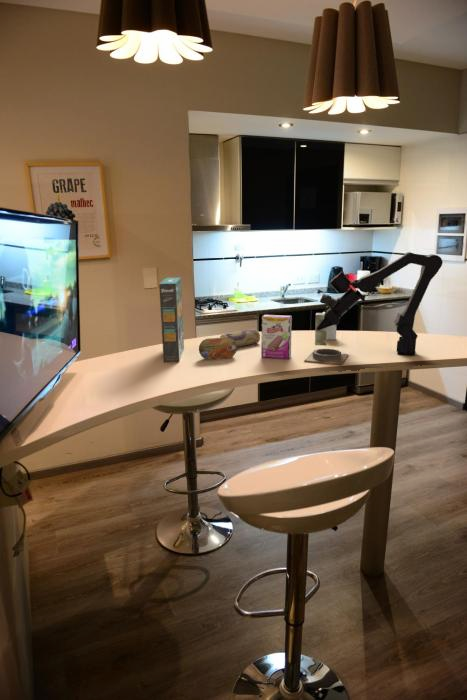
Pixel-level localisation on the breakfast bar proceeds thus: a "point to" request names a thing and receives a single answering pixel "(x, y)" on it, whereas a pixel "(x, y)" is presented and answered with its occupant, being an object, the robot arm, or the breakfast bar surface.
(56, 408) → the breakfast bar surface
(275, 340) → the candy bar box
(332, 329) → the skincare box
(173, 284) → the cake mix box
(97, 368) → the breakfast bar surface
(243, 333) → the beige packaged roll
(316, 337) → the peg
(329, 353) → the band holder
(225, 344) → the brown printed food package
